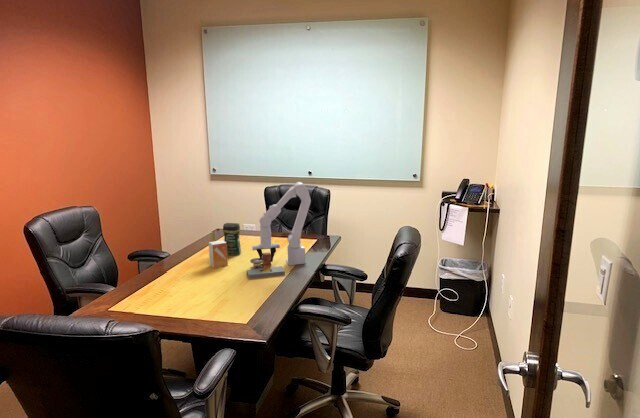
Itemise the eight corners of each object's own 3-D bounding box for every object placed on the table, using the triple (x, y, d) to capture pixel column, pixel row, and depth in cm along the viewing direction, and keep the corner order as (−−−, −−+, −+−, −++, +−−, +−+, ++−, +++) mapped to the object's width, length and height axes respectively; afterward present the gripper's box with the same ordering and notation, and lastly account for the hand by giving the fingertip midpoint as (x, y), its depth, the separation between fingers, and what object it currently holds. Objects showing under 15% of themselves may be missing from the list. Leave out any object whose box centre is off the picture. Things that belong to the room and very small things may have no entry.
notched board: (281, 269, 223) (281, 266, 222) (284, 274, 215) (284, 271, 215) (247, 273, 218) (246, 269, 217) (249, 278, 210) (248, 275, 210)
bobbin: (263, 266, 228) (262, 257, 227) (265, 270, 222) (264, 261, 221) (249, 267, 226) (249, 258, 225) (251, 272, 220) (251, 262, 219)
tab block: (269, 262, 234) (269, 252, 233) (271, 265, 231) (270, 254, 229) (262, 263, 233) (262, 253, 232) (263, 265, 229) (263, 255, 228)
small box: (213, 268, 226) (212, 244, 223) (209, 265, 231) (208, 242, 229) (228, 265, 230) (227, 242, 228) (224, 262, 235) (222, 239, 233)
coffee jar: (222, 255, 248) (220, 224, 244) (227, 251, 256) (225, 221, 252) (238, 256, 246) (236, 225, 243) (242, 252, 254) (241, 221, 250)
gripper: (277, 234, 235) (278, 258, 237) (251, 236, 231) (252, 260, 233) (280, 237, 228) (280, 262, 231) (253, 240, 224) (254, 264, 227)
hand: (266, 261), depth 232 cm, fingers open, 5 cm apart
